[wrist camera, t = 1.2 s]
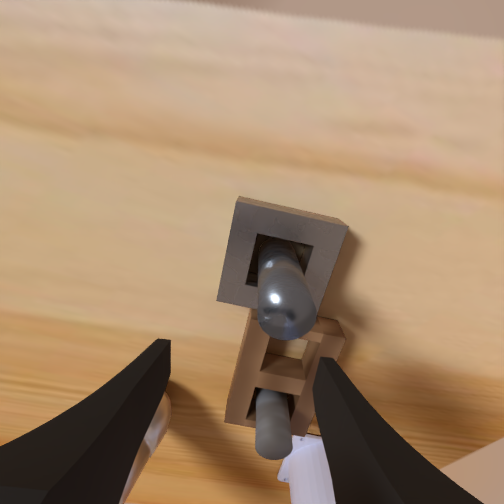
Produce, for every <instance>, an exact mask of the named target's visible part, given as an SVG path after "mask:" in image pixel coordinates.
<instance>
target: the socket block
mask: <svg viewBox="0 0 504 504" xmlns="http://www.w3.org/2000/svg"><path fill="white" fill-rule="evenodd" d="M348 227H349V226H347V225H346V224H345V223H343V222H342V221H341V220H339V219H338V218H333V217H329V216H324V215H320V214H316V213H311V212H307V211H302V210H298V209H294V208H289V207H285V206H280V205H276V204H272V203H267V202H263V201H259V200H254V199H250V198H245V197H241V196H239V197H238V199H237V201H236V205H235V210H234V215H233V220H232V225H231V230H230V235H229V240H228V245H227V250H226V255H225V260H224V265H223V270H222V275H221V280H220V285H219V290H218V295H217V301H219V302H224V303H229V304H234V305H239V306H244V307H248V308H253V309H257V307H258V274H256V273H252V272H248V270H249V266H250V261H251V257H252V253H253V249H254V245H255V240H256V236H257V233H259V234H263V235H268V236H272V237H277V238H281V239H286V240H290V241H295V242H299V243H304V244H305V248H304V251H303V254H302V257H301V261H300V267H301V269H302V272H303V275H304V277H305V280H306V283H307V285H308V288H309V291H310V293H311V296H312V299H313V301H314V304H315V307H316V310H317V313H318V310H319V307H320V304H321V302H322V299H323V296H324V293H325V290H326V288H327V285H328V282H329V279H330V277H331V274H332V271H333V268H334V265H335V263H336V260H337V257H338V254H339V252H340V249H341V246H342V243H343V240H344V238H345V235H346V232H347V229H348Z"/></svg>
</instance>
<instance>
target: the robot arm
mask: <svg viewBox="0 0 504 504" xmlns="http://www.w3.org/2000/svg"><path fill="white" fill-rule="evenodd" d="M170 373H171V340H167V339H157V340H155V341H154V342H153V343H152V344H151V345H150V346H149V347H148V348H147V349H146V350H145V351H144V352H142V353H141V354H140V355H139V356H138V357H137V358H136V359H135V360H134V361H132V362H131V363H130V364H129V365H128V366H127V367H126V368H124V369H123V370H122V371H121V372H120V373H118V374H117V375H116V376H115V377H113V378H112V379H111V380H110V381H108V382H107V383H106V384H105V385H103V386H102V387H101V388H99V389H98V390H96V391H95V392H94V393H92V394H91V395H89V396H88V397H87V398H85V399H84V400H82V401H81V402H79V403H78V404H76V405H75V406H73V407H71V408H70V409H68V410H67V411H65V412H63V413H62V414H60V415H58V416H57V417H55V418H53V419H52V420H50V421H48V422H46V423H45V424H43V425H41V426H39V427H37V428H36V429H34V430H32V431H30V432H28V433H26V434H24V435H22V436H21V437H19V438H17V439H15V440H13V441H11V442H9V443H6V444H4V445H2V446H0V504H119V502H120V499H121V497H122V494H123V491H124V488H125V485H126V482H127V479H128V477H129V474H130V471H131V468H132V466H133V463H134V460H135V457H136V455H137V453H138V450H139V448H140V445H141V443H142V441H143V439H144V437H145V434H146V432H147V430H148V428H149V426H150V424H151V421H152V419H153V417H154V415H155V413H156V410H157V408H158V406H159V404H160V402H161V399H162V397H163V395H164V392H165V389H166V386H167V383H168V380H169V377H170ZM312 392H313V400H314V407H315V413H316V417H317V421H318V425H319V429H320V433H321V437H320V436H315V435H310V434H306V435H305V437H300V436H295V435H293V437H292V444H293V450H292V452H291V453H290V454H289V455H288V456H287V457H285V458H284V460H283V462H282V465H281V467H280V470H279V472H278V475H277V477H278V480H279V481H282V482H288V483H289V484H290V495H291V504H484V503H482V502H481V501H479V500H478V499H477V498H475V497H474V496H472V495H471V494H470V493H468V492H467V491H465V490H464V489H463V488H461V487H460V486H459V485H457V484H456V483H455V482H454V481H452V480H451V479H450V478H448V477H447V476H446V475H445V474H443V473H442V472H441V471H440V470H439V469H437V468H436V467H435V466H434V465H432V464H431V463H430V462H429V461H428V460H427V459H425V458H424V457H423V456H422V455H421V454H420V453H419V452H417V451H416V450H415V449H414V448H413V447H412V446H411V445H410V444H408V443H407V442H406V441H405V440H404V439H403V438H402V437H401V436H400V435H399V434H398V433H397V432H396V431H395V430H394V429H393V428H392V427H391V426H390V425H389V424H388V423H387V422H386V421H385V420H384V419H383V418H382V417H381V416H380V415H379V414H378V413H377V411H376V410H375V409H374V408H373V407H372V406H371V405H370V404H369V402H368V401H367V400H366V399H365V398H364V397H363V395H362V394H361V393H360V392H359V391H358V389H357V388H356V387H355V386H354V384H353V383H352V382H351V381H350V379H349V378H348V377H347V375H346V374H345V373H344V372H343V370H342V369H341V368H340V366H339V365H338V364H337V362H336V361H335V360H334V359H333V358H330V357H321V356H320V360H319V364H318V367H317V371H316V375H315V379H314V383H313V387H312Z"/></svg>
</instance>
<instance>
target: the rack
mask: <svg viewBox="0 0 504 504" xmlns="http://www.w3.org/2000/svg"><path fill="white" fill-rule="evenodd" d="M269 338H270V336H269V335H268V334H266V333H265V332H264V331H263V330H262V328H261V327H260V325H259V323H258V318H257V309H253V308H250V312H249V316H248V320H247V324H246V328H245V332H244V336H243V340H242V344H241V347H240V351H239V355H238V359H237V363H236V367H235V371H234V375H233V379H232V383H231V387H230V391H229V395H228V399H227V405H226V413H225V420H224V422H225V423H230V424H236V425H241V426H246V427H252V428H256V441H255V448H256V451H257V453H258V454H259V455H260V456H262V457H264V458H266V459H270V460H279V459H283V458H285V457H287V456H288V455H289V454H290V453H291V452H292V450H293V444H292V435H295V436H300V437H305V435H306V433H307V430H308V428H309V425H310V423H311V421H312V418H313V416H314V414H315V407H314V400H313V392H312V387H313V383H314V379H315V375H316V371H317V367H318V364H319V360H320V356H321V357H330V358H333V359H334V360H335V361H337V359H338V357H339V354H340V352H341V350H342V347H343V345H344V342H345V340H346V337H345V335H344V333H343V331H342V329H341V327H340V325H339V323H338V321H337V320H332V319H327V318H322V317H318V316H317V318H316V322H315V324H314V326H313V328H312V329H311V330H310V331H309V332H308V333H307V334H305V335H304V336H302V337H300V338H299V339H304V340H309V341H308V344H307V347H306V349H305V352H304V355H303V358H302V360H299V359H294V358H289V357H284V356H279V355H274V354H269V353H265V352H266V348H267V345H268V342H269ZM255 387H256V398H252V396H253V392H254V389H255ZM287 393H289V396H288V399H287Z"/></svg>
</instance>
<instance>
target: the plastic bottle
mask: <svg viewBox="0 0 504 504" xmlns="http://www.w3.org/2000/svg"><path fill="white" fill-rule="evenodd" d="M171 415H172V409H171V401H170V398H169V396H168V395H167V393H166V392H164V395H163V397H162V399H161V402H160V404H159V406H158V408H157V410H156V413H155V415H154V417H153V419H152V421H151V424H150V426H149V428H148V430H147V432H146V434H145V437H144V439H143V441H142V443H141V445H140V448H139V450H138V453H137V455H136V457H135V460H134V463H133V466H132V468H131V471H130V474H129V477H128V479H127V482H126V485H125V488H124V491H123V494H122V497H121V499H120V502H119V504H124V502H125V501H126V499H127V497H128V495H129V493H130V492H131V490H132V488H133V486H134V484H135V483H136V481H137V479H138V477H139V476H140V474H141V472H142V470H143V468H144V467H145V465H146V463H147V461H148V459H149V458H150V457H151V455H152V454H153V453H154V451H155V450H156V448H157V447H158V445H159V444H160V442H161V440H162V439H163V437H164V435H165V434H166V432H167V429H168V425H169V422H170V419H171Z"/></svg>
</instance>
